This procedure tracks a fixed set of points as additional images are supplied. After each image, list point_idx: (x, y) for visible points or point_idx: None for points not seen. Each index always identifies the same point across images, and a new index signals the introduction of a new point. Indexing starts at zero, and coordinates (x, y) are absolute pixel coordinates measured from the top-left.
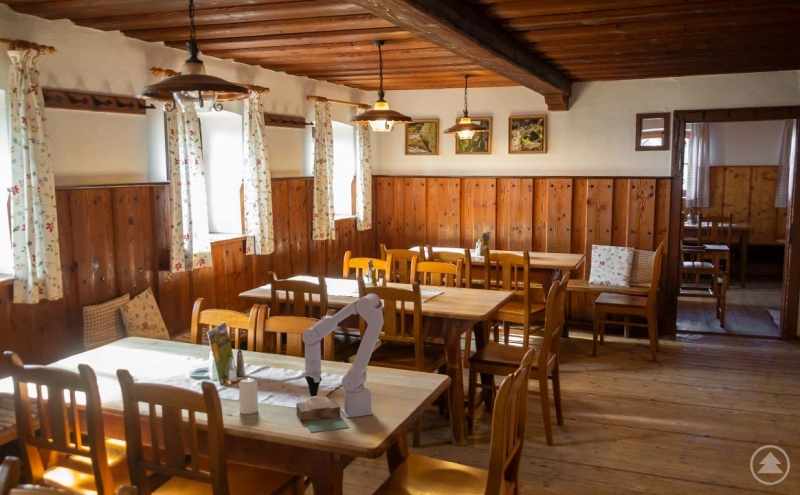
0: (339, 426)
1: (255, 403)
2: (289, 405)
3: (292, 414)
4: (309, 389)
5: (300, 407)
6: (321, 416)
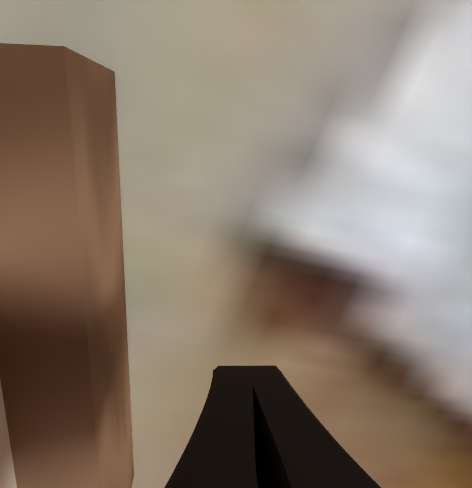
0: None
1: None
2: (456, 51)
3: (114, 12)
4: (248, 437)
5: None
6: None
